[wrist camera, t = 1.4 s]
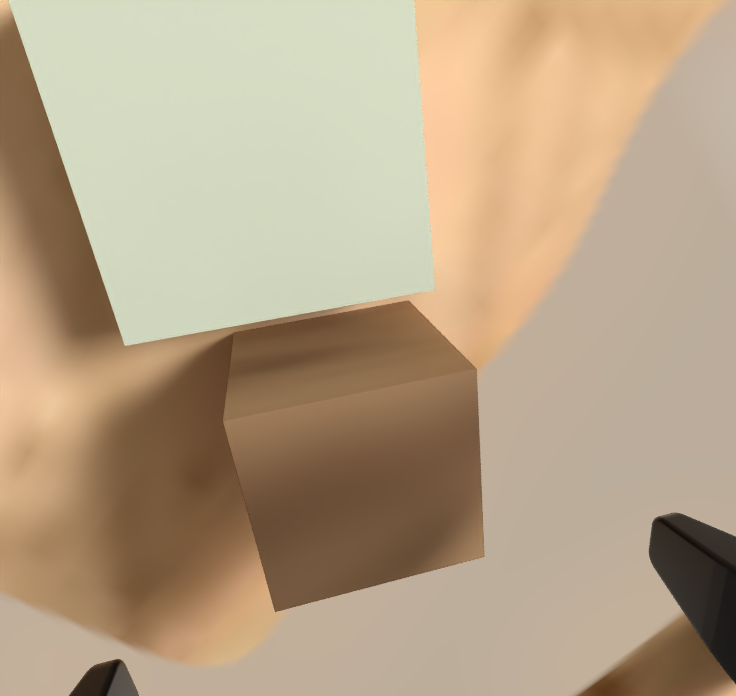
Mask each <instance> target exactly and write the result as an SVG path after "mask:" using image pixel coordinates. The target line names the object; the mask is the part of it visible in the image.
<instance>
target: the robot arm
mask: <svg viewBox="0 0 736 696" xmlns="http://www.w3.org/2000/svg"><path fill="white" fill-rule="evenodd" d="M649 557H650V560H651V563H652V565H653V567H654V568H655V570H656V571H657V573H658V574H659V576H660V577H661V579H662V580H663V582H664V583H665V585H666V586H667V588H668V589H669V591H670V592H671V594H672V595H673V597H674V598H675V600H676V601H677V603H678V604H679V606H680V607H681V609H682V610H683V612H684V613H685V615H686V616H687V618H688V619H689V621H690V623H691V624H692V626H693V627H694V629H695V630H696V632H697V633H698V635H699V636H700V638H701V639H702V640H703V642H704V643H705V645H706V646H707V647H708V649H709V650H710V652H711V653H712V654H713V656H714V657H715V658H716V660H717V661H718V662H719V663H720V665H721V666H722V667H723V669H724V670H725V671H726V672H727V674H728V675H729V676H730V677H731V679H732V680H733V681H734V682H735V684H736V537H735V536H733V535H731V534H728V533H726V532H724V531H721V530H718V529H716V528H714V527H711V526H709V525H707V524H705V523H702V522H700V521H697V520H695V519H692V518H690V517H688V516H686V515H683V514H680V513H670V514H667V515H663V516H659V517H656V518H655V519H654V521H653V523H652V530H651V537H650V545H649ZM69 696H139V694H138V691H137V689H136V687H135V685H134V683H133V680H132V678H131V676H130V674H129V672H128V670H127V667H126V665H125V663H124V662H123V661H122V660H120V659H116V660H112V661H108V662H105V663H100V664H97V665H94V666H93V667H91V668H90V669H89V670H88V671H87V672H86V674H85V675H84V676H83V678H82V679H81V680H80V682H79V683H78V684H77V686H76V687H75V688H74V690H73V691H72V692H71V694H70V695H69Z"/></svg>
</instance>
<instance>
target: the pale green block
mask: <svg viewBox="0 0 736 696" xmlns="http://www.w3.org/2000/svg"><path fill="white" fill-rule="evenodd" d="M8 1H9V4H10V7H11V10H12V13H13V16H14V19H15V22H16V25H17V28H18V30H19V33H20V36H21V39H22V42H23V45H24V48H25V51H26V54H27V57H28V60H29V63H30V66H31V69H32V72H33V75H34V78H35V81H36V84H37V87H38V90H39V93H40V96H41V99H42V102H43V105H44V108H45V111H46V113H47V116H48V119H49V122H50V125H51V128H52V131H53V134H54V137H55V140H56V143H57V146H58V149H59V152H60V155H61V158H62V161H63V164H64V167H65V170H66V173H67V176H68V179H69V182H70V185H71V188H72V191H73V194H74V197H75V199H76V202H77V205H78V208H79V211H80V214H81V217H82V220H83V223H84V226H85V229H86V232H87V235H88V238H89V241H90V244H91V247H92V250H93V253H94V256H95V259H96V262H97V265H98V268H99V271H100V274H101V277H102V280H103V282H104V285H105V288H106V291H107V294H108V297H109V300H110V303H111V306H112V309H113V312H114V315H115V318H116V321H117V324H118V327H119V330H120V333H121V336H122V339H123V342H124V345H125V346H127V345H133V344H138V343H144V342H149V341H155V340H160V339H166V338H172V337H177V336H183V335H188V334H194V333H199V332H205V331H210V330H216V329H221V328H227V327H232V326H238V325H243V324H249V323H255V322H260V321H266V320H271V319H277V318H282V317H288V316H293V315H299V314H304V313H310V312H315V311H321V310H327V309H332V308H338V307H343V306H349V305H354V304H360V303H365V302H371V301H376V300H382V299H387V298H393V297H399V296H404V295H410V294H415V293H421V292H426V291H432V290H435V284H434V270H433V257H432V243H431V229H430V215H429V201H428V187H427V173H426V159H425V145H424V132H423V118H422V104H421V90H420V76H419V62H418V48H417V34H416V21H415V7H414V0H8Z"/></svg>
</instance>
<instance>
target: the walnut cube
mask: <svg viewBox="0 0 736 696" xmlns="http://www.w3.org/2000/svg"><path fill="white" fill-rule="evenodd" d="M223 424H224V427H225V431H226V435H227V438H228V442H229V446H230V449H231V453H232V457H233V460H234V464H235V468H236V471H237V475H238V478H239V482H240V486H241V489H242V493H243V497H244V500H245V504H246V508H247V511H248V515H249V519H250V522H251V526H252V530H253V533H254V537H255V541H256V544H257V548H258V551H259V555H260V559H261V562H262V566H263V570H264V573H265V577H266V581H267V584H268V588H269V592H270V595H271V599H272V603H273V606H274V610H275V612H277V611H281V610H284V609H288V608H292V607H296V606H300V605H303V604H307V603H311V602H315V601H318V600H322V599H326V598H330V597H333V596H338V595H341V594H345V593H348V592H352V591H357V590H360V589H364V588H368V587H371V586H376V585H379V584H383V583H387V582H390V581H394V580H398V579H402V578H406V577H410V576H413V575H417V574H421V573H425V572H429V571H433V570H436V569H440V568H444V567H448V566H452V565H455V564H459V563H463V562H467V561H471V560H474V559H478V558H482V557H484V536H483V512H482V489H481V488H482V487H481V466H480V465H481V463H480V441H479V440H480V439H479V417H478V392H477V369H476V368H475V367H474V366H473V365H472V364H471V363H470V362H469V361H468V360H467V359H466V358H465V357H464V356H463V355H462V354H461V353H460V352H459V351H458V350H457V349H456V348H455V347H454V346H453V345H452V344H451V343H450V342H449V341H448V340H447V339H446V338H445V337H444V336H443V335H442V334H441V333H440V332H439V331H438V330H437V329H436V328H435V327H434V326H433V325H432V324H431V322H430V321H429V320H428V319H427V318H426V317H425V316H424V315H423V314H422V313H421V312H420V311H419V310H418V309H417V308H416V307H415V306H414V305H413V304H412V303H411V302H410V301H403V302H398V303H392V304H387V305H381V306H376V307H371V308H365V309H360V310H354V311H349V312H343V313H338V314H332V315H327V316H322V317H316V318H311V319H305V320H300V321H294V322H289V323H283V324H278V325H273V326H267V327H262V328H256V329H251V330H245V331H240V332H235V333H234V336H233V344H232V352H231V360H230V368H229V376H228V384H227V392H226V400H225V408H224V416H223Z"/></svg>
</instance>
